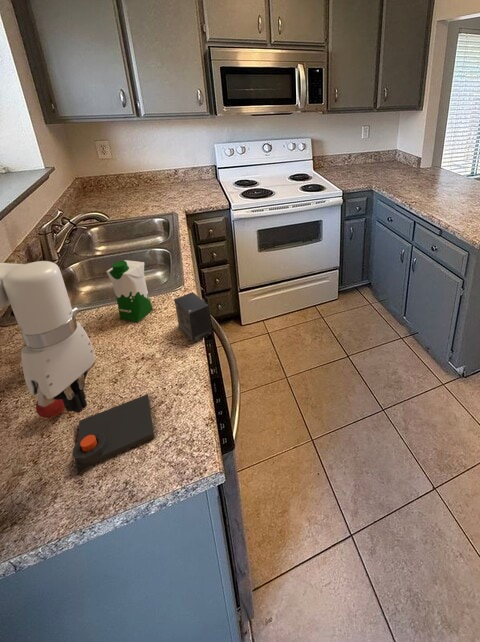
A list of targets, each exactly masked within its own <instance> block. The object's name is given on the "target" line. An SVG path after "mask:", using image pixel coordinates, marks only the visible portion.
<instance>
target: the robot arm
mask: <svg viewBox="0 0 480 642" xmlns="http://www.w3.org/2000/svg"><path fill="white" fill-rule="evenodd" d="M65 284H66V283H65V280H64V278H63V274H62V271H61V269H60V267H59V266H58V264H56V263H55V262H53V261H50V260H49V261H48V260H39V261H32V262H28V263H13V262H12V263H11V262H10V263H9V262H0V311H2V310H3V309H5V308H7V307H9V306H10V307H11V310H12V312H13V315H14V319H15V320H16V323H17V326H18V329H19V331H20V333H21V336H22V338H23V342H24V346H23V347H22V348H21V351H20V360H21V367H22V372H23V376H24V381H25V384H26V388H27V390H28V393H29V394H30V395H31V396H36V397H37V400H38V405H39V406H42V407H46V406H48V405H49V404H51V403H52V402H54V401H55V400H56V399H57V400H60V399H62V400H63V403H64V406H65V409H64V410H66V411H67V412H74V413H78V414H80V413H81V412H82V411H83V409H85V408H86V407H87V406H88V403H87V400H86V399H87V397H86V393H85V391H84V388H85V387H86V381H85V380H86V378H87V375H88V373H89V372H90V371H91V369H92V368H93V367H94V366H95V364H96V354H95V350H94V347H93V345H92V343H91V340H90V338H89V336H88V334H87V332H86V330H85V329H84V327H83V326H82V324H81V323H80V322H79V321H77V318H76V316H77V314H79V312H80V309H79V308H77V307H76V306H75V307H72V304H71V301H70V298H69V294H68V290H67V287H66V285H65Z"/></svg>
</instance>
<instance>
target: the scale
mask: <svg viewBox="0 0 480 642" xmlns="http://www.w3.org/2000/svg"><path fill="white" fill-rule="evenodd" d="M151 409H152V408H151V402H150V396H149V393H147V394H144V395H142V396H138V397H137V398H134V399H131V400H129V401H126V402H124V403H121V404H118V405H116V406H113V407H111V408H109V409H106V410H103V411H100V412H97V413H96V414H93V415H90V416H88V417H85V418H83V419H80V420H79V421H78V433H77V434H78V435H77V442H76V444H75V445H74V446H73V449H72V457H73V459H74V461H75V469H76V471H77V473H79V472H82V471H84V470H85V469H88V468H90V467H92V466H95V465H97V464H99V463H101V462H103V461H105V460H109V459H110V458H113V457H115V456H117V455H119V454H122V453H124V452H126V451H128V450H130V449H133V448H135V447H138V446H139V445H142V444H144V443H146V442H149V441H151V440H153V439H155V430H154V423H153V415H152V410H151ZM88 435H94V436H95V437H96V441H97V445H96V447H95V448H94V449H92V450H91V451H89V452H83V451H82V448H81V445H80V443H81V441H82V440H83V438H85V437H86V436H88Z"/></svg>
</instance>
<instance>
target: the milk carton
mask: <svg viewBox="0 0 480 642" xmlns="http://www.w3.org/2000/svg"><path fill="white" fill-rule="evenodd" d="M105 272H106V274H107V276H108V278H109V280H110V281H111V284H112V288H113V291H114V296H115V300H116V303H117V309H118V314H119V315H118V316H119V320H122V321H127V322H134V323H139V322H140V321H141V320H142V319H144V318H145V317H146V316H147V315H148V314H150V313H151V312H152V311H154V309H153V304H152V302H151V299H150V295H149V292H148V291H149V290H148V286H147V282H146V277H145V262H144V261H138V260H137V261H136V260H128V259H124V260H119V261H115V262H114V263H112V264H111V268H109V269H108V270H106V271H105Z"/></svg>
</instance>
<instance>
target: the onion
mask: <svg viewBox="0 0 480 642" xmlns="http://www.w3.org/2000/svg"><path fill="white" fill-rule="evenodd" d="M64 410H66V409H65V406H64V403H63V400H62V399H60V400H57V399H56V400H55V401H54V402H52V403H51V404H49V405H48V406H46V407H42V406H39V405H38V399H37V400H36V403H35V412H36V414H37V415H38V416H39V417H40V418H44V419H52V418H56V417H59V415H60V414H61V413H63V411H64Z"/></svg>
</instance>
